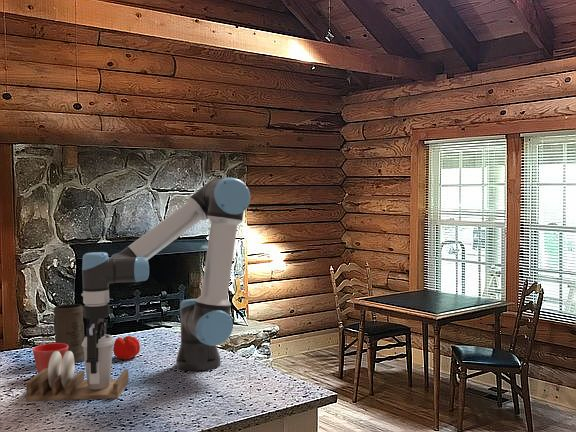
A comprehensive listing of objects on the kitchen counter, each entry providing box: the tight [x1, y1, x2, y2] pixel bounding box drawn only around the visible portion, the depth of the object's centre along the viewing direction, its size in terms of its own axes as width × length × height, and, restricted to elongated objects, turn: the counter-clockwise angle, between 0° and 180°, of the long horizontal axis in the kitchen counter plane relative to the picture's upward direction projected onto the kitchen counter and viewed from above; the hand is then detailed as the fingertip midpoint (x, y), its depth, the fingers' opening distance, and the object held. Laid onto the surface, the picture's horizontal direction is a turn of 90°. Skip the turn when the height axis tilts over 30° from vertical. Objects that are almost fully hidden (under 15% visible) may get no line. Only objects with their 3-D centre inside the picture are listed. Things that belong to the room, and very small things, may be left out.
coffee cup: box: [82, 333, 115, 390], centre depth 189 cm, size 10×10×15 cm
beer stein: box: [53, 303, 85, 364], centre depth 226 cm, size 15×11×20 cm
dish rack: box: [25, 351, 130, 402], centre depth 189 cm, size 26×15×12 cm, turn 92°
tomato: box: [112, 335, 141, 360], centre depth 227 cm, size 9×9×8 cm
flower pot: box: [32, 342, 69, 374], centre depth 205 cm, size 11×11×10 cm
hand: (98, 379), depth 189 cm, fingers open, 7 cm apart
